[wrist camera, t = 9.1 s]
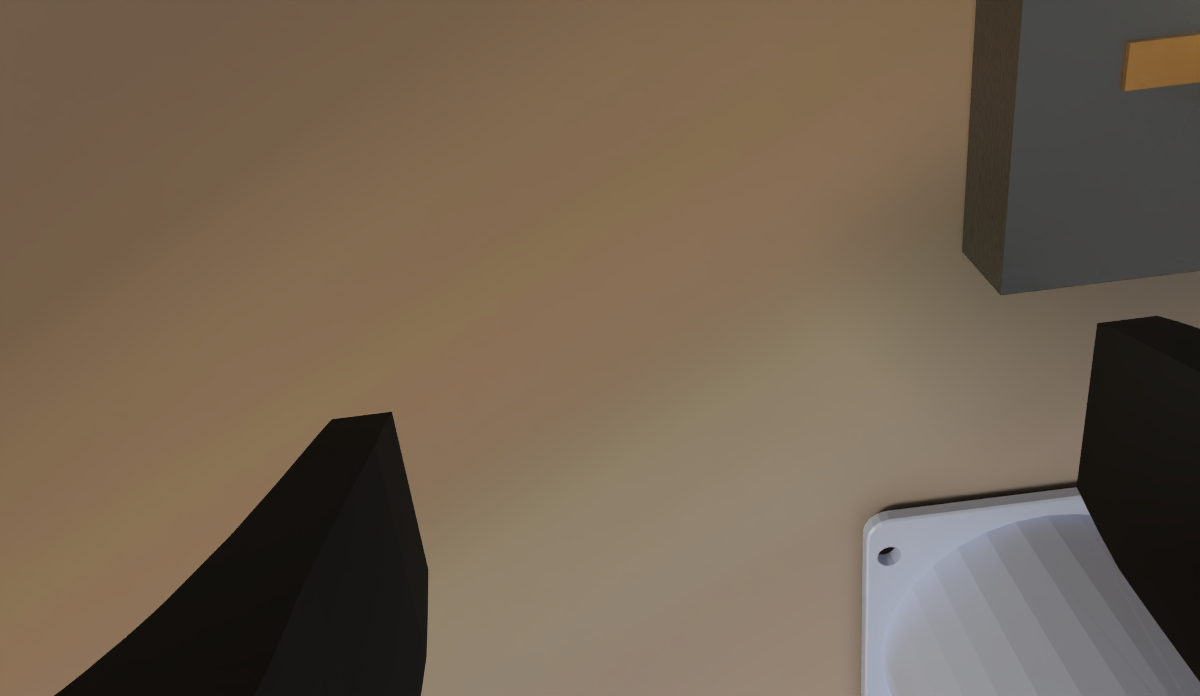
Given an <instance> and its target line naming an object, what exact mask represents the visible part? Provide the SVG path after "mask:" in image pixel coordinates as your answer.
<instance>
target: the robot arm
mask: <svg viewBox="0 0 1200 696" xmlns="http://www.w3.org/2000/svg"><path fill="white" fill-rule="evenodd" d="M888 547H895V548H894V549H893V550H892V551H891V552H890V553H887V554H879V552H881V551H882V550H883V549H885V548H888ZM427 620H428V567H427V563H426V558H425V554H424V550H423V545H422V541H421V536H420V532H419V528H418V523H417V519H416V515H415V510H414V506H413V502H412V497H411V493H410V489H409V484H408V480H407V476H406V471H405V467H404V463H403V458H402V454H401V450H400V445H399V441H398V437H397V432H396V428H395V424H394V419H393V415H392V412H387V413H379V414H371V415H363V416H355V417H347V418H339V419H332V420H331V421H330V422H329V423H328V424H327V425H326V426H325V428H324V429H323V430H322V431H321V432H320V433H319V434H318V435H317V437H316V438H315V439H314V440H313V441H312V443H311V444H310V445H309V446H308V447H307V448H306V450H305V451H304V452H303V453H302V454H301V456H300V457H299V458H298V459H297V460H296V461H295V463H294V464H293V465H292V466H291V467H290V469H289V470H288V471H287V472H286V473H285V474H284V476H283V477H282V478H281V479H280V480H279V481H278V483H277V484H276V485H275V486H274V487H273V488H272V489H271V491H270V492H269V493H268V494H267V495H266V496H265V497H264V499H263V500H262V501H261V502H260V503H259V504H258V505H257V506H256V508H255V509H254V510H253V511H252V512H251V513H250V514H249V515H248V517H247V518H246V519H245V520H244V521H243V522H242V523H241V524H240V526H239V527H238V528H237V529H236V530H235V531H234V532H233V533H232V534H231V536H230V537H229V538H228V539H227V540H226V541H225V542H224V543H223V544H222V545H221V546H220V547H219V548H218V549H217V550H216V551H215V552H214V553H213V554H212V555H211V556H210V557H209V558H208V559H207V560H206V561H205V562H204V563H203V564H202V565H201V566H200V567H199V568H198V569H197V570H196V571H195V572H194V573H193V574H192V575H191V576H190V577H189V578H188V579H187V580H186V581H185V582H184V583H183V584H182V585H181V586H180V587H179V588H178V589H177V590H176V591H175V592H174V593H173V594H172V595H171V596H170V597H169V598H168V599H167V600H166V601H165V602H164V603H163V604H162V605H161V606H160V607H159V608H158V609H157V610H156V611H155V612H154V613H152V614H151V615H150V616H149V617H148V618H147V619H146V620H145V621H144V622H143V623H141V624H140V625H139V626H138V627H137V628H136V629H135V630H134V631H133V632H131V633H130V634H129V635H128V636H127V637H126V638H125V639H123V640H122V641H121V642H120V643H119V644H117V645H116V646H115V647H114V648H113V649H111V650H110V651H109V652H108V653H107V654H105V655H104V656H103V657H102V658H101V659H100V660H98V661H97V662H96V663H95V664H94V665H92V666H91V667H90V668H89V669H88V670H86V671H85V672H84V673H83V674H82V675H80V676H79V677H78V678H76V679H75V680H74V681H73V682H71V683H70V684H69V685H68V686H66V687H65V688H64V689H63V690H61V691H60V692H58V693H57V694H56V695H54V696H421V690H422V684H423V677H424V670H425V663H426V653H427ZM861 696H1200V329H1198V328H1195V327H1193V326H1190V325H1187V324H1183V323H1180V322H1177V321H1174V320H1170V319H1167V318H1163V317H1159V316H1152V317H1144V318H1136V319H1128V320H1120V321H1112V322H1104V323H1097V330H1096V338H1095V346H1094V354H1093V362H1092V370H1091V378H1090V386H1089V394H1088V402H1087V410H1086V417H1085V425H1084V433H1083V441H1082V449H1081V457H1080V465H1079V473H1078V481H1077V487H1074V488H1066V489H1058V490H1050V491H1042V492H1034V493H1026V494H1018V495H1010V496H1002V497H994V498H986V499H978V500H970V501H962V502H954V503H946V504H938V505H930V506H922V507H914V508H906V509H898V510H890V511H884V512H881V513H877V514H876V515H874V516H872V517H871V518H870V519H869V520H868V521H867V523H866V524H865V526H864V530H863V580H862V672H861Z"/></svg>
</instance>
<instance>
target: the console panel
mask: <svg viewBox="0 0 1200 696" xmlns="http://www.w3.org/2000/svg"><path fill="white" fill-rule="evenodd" d="M962 252H963V253H964V254H965V255H966V256H967V258H968V259H969V260H970V261H971V262H972V263H973V264H974V266H975V267H976V268H977V269H978V270H979V271H980V272H981V273H982V275H983V276H984V277H985V278H986V279H987V280H988V281H989V283H990V284H991V285H992V286H993V287H994V288H995V289H996V291H997V292H998V293H999V294H1000V295H1007V294H1015V293H1023V292H1031V291H1039V290H1047V289H1055V288H1063V287H1071V286H1079V285H1087V284H1096V283H1104V282H1112V281H1120V280H1128V279H1136V278H1144V277H1152V276H1160V275H1168V274H1176V273H1184V272H1193V271H1200V0H976V16H975V33H974V51H973V69H972V87H971V105H970V123H969V140H968V158H967V176H966V194H965V212H964V230H963V247H962Z"/></svg>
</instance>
